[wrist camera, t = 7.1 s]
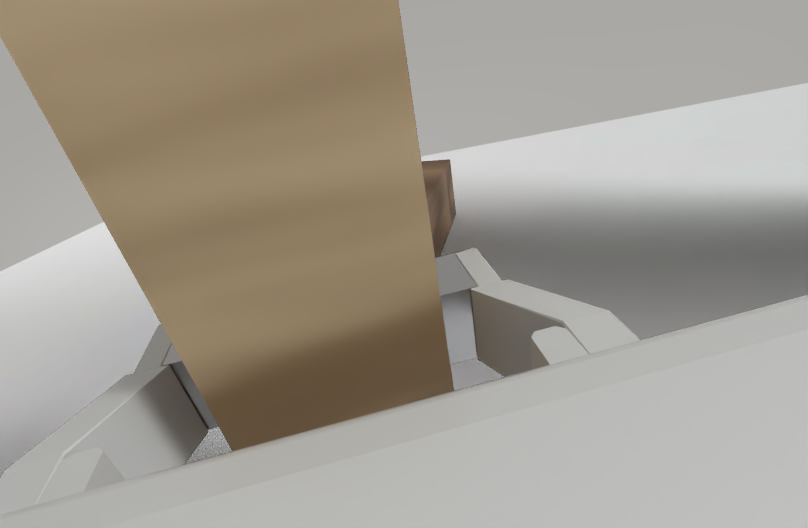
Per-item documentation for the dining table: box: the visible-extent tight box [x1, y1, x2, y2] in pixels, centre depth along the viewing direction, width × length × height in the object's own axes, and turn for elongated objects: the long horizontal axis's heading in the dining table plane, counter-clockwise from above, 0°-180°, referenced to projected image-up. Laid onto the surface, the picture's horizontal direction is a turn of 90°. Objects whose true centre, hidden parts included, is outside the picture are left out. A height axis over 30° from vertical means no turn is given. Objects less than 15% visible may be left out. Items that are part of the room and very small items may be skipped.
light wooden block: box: [0, 0, 454, 451], centre depth 10 cm, size 4×4×16 cm
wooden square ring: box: [421, 160, 456, 258], centre depth 31 cm, size 10×10×4 cm
